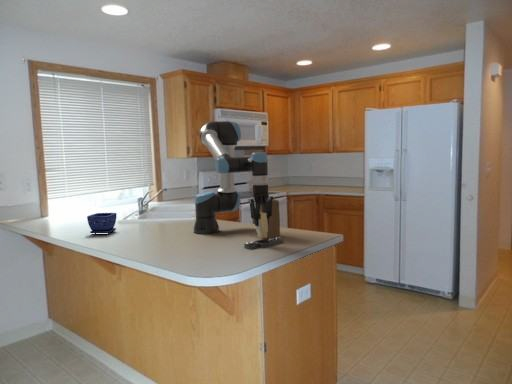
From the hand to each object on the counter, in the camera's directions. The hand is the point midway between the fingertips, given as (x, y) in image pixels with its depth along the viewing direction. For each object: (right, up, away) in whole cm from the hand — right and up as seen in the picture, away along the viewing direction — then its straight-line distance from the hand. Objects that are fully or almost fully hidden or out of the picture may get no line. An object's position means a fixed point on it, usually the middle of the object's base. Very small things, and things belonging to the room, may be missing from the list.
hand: (262, 231), depth 189 cm
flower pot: (-97, -6, +48) cm, 108 cm away
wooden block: (+4, -5, +20) cm, 21 cm away
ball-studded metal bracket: (0, -7, +1) cm, 7 cm away
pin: (0, -3, 0) cm, 3 cm away
